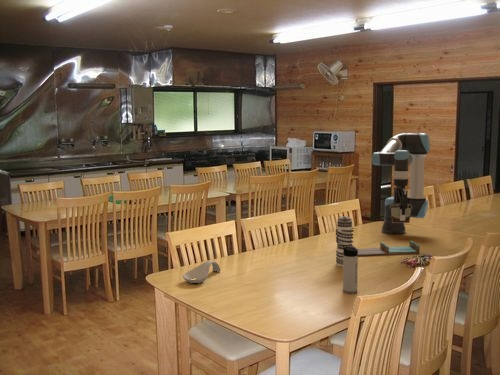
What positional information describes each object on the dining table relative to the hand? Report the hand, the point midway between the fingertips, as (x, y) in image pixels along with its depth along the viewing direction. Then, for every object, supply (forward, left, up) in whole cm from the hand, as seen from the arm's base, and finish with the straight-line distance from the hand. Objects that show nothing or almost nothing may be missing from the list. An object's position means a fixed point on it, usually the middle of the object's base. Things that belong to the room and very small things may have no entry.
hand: (399, 219), depth 282 cm
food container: (0, 0, -2) cm, 2 cm away
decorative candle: (+19, -37, -19) cm, 46 cm away
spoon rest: (+31, -111, -19) cm, 116 cm away
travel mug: (+59, -46, -19) cm, 77 cm away
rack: (0, -9, -19) cm, 21 cm away
